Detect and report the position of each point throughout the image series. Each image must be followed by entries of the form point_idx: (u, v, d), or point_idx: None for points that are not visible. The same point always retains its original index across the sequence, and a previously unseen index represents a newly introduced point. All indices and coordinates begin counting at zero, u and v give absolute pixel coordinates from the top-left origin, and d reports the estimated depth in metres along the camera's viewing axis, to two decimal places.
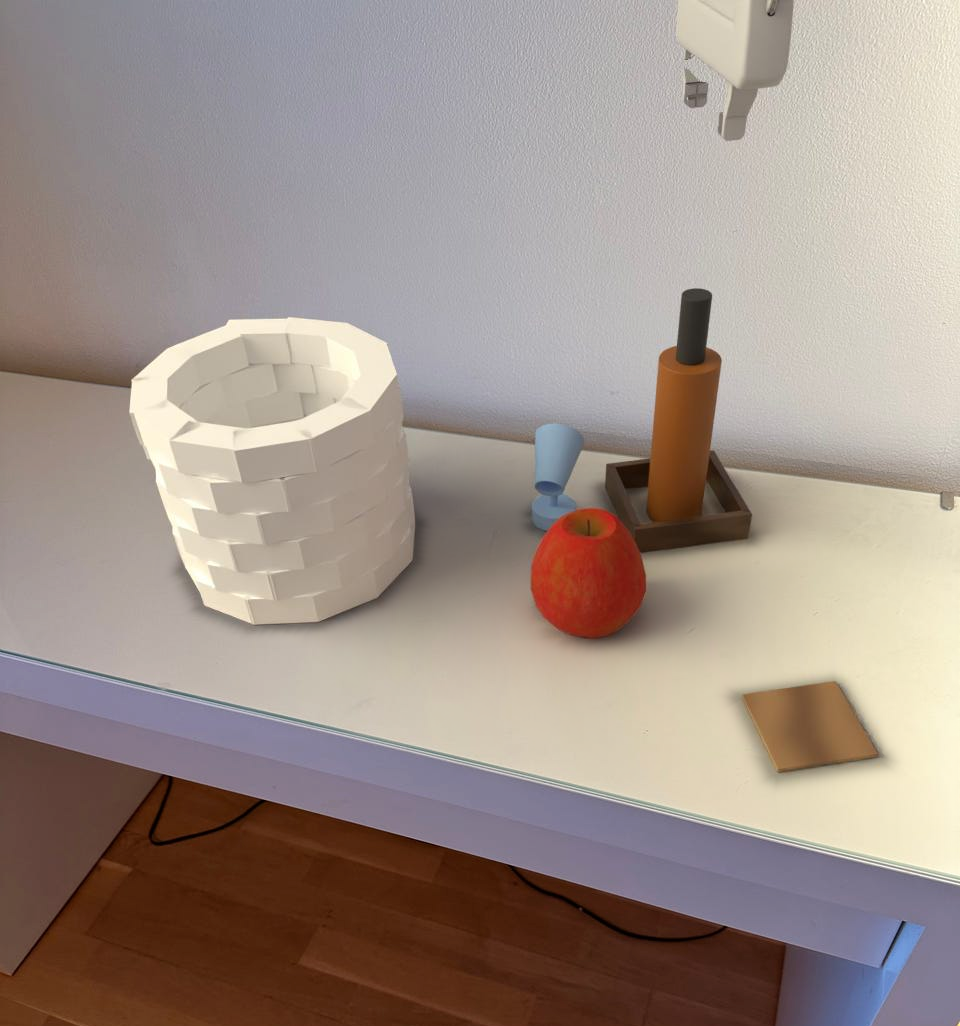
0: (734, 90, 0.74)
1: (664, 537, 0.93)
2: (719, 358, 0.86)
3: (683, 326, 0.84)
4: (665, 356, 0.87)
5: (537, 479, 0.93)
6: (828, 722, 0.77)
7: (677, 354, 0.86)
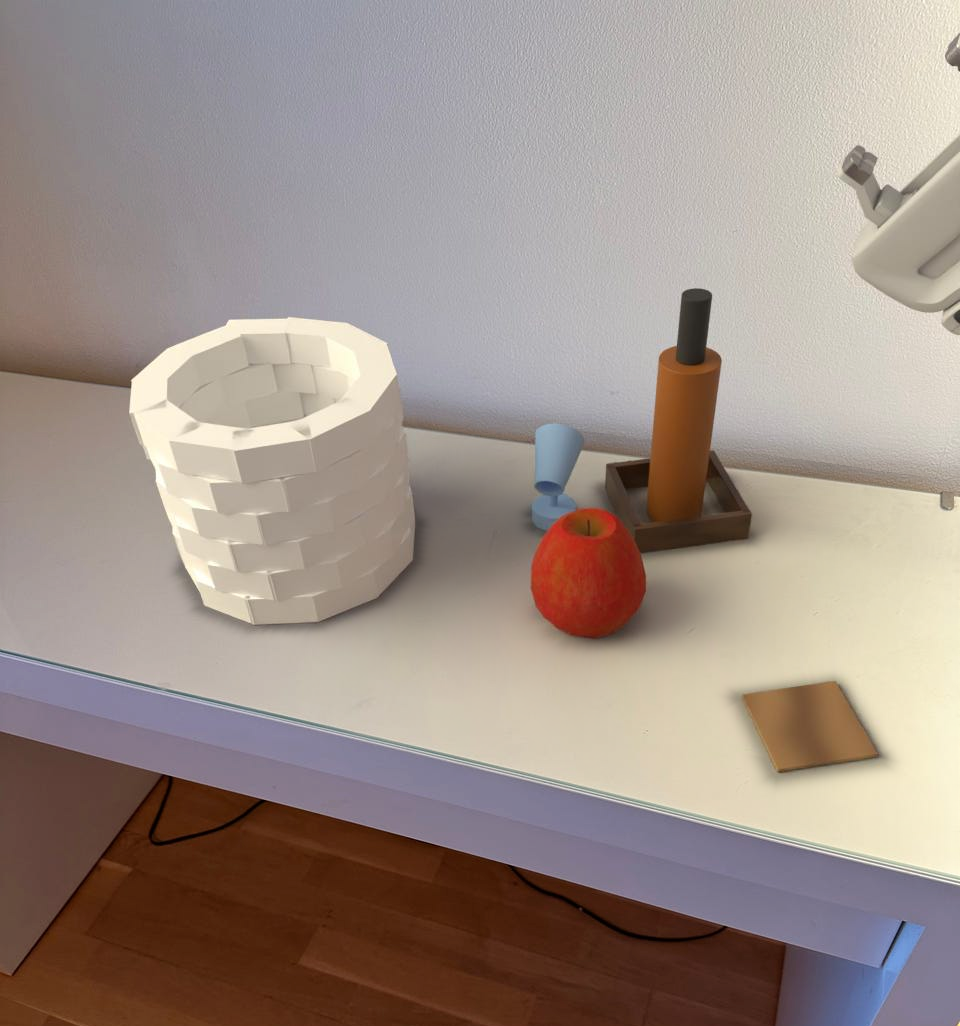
0: None
1: (664, 537, 0.93)
2: (719, 358, 0.86)
3: (683, 326, 0.84)
4: (665, 356, 0.87)
5: (537, 479, 0.93)
6: (828, 722, 0.77)
7: (677, 354, 0.86)
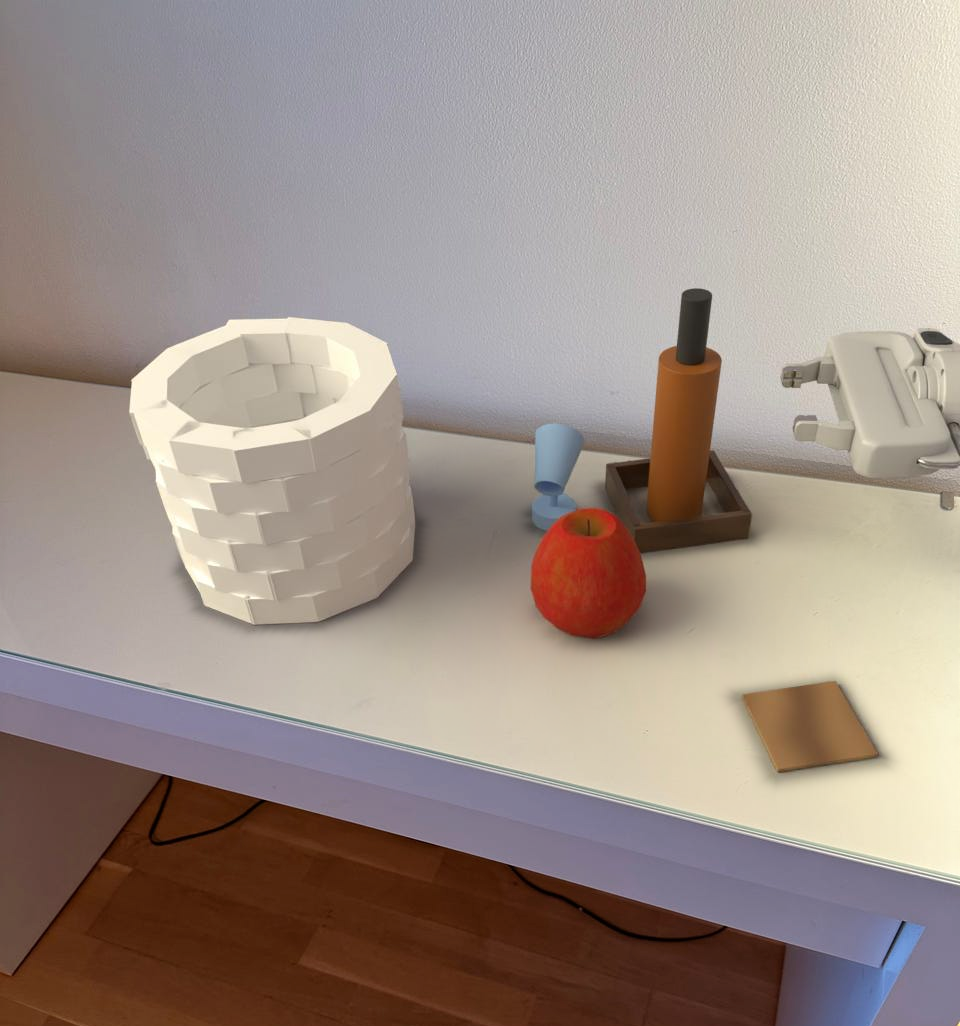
0: (846, 431, 0.82)
1: (664, 537, 0.93)
2: (719, 358, 0.86)
3: (683, 326, 0.84)
4: (665, 356, 0.87)
5: (537, 479, 0.93)
6: (828, 722, 0.77)
7: (677, 354, 0.86)
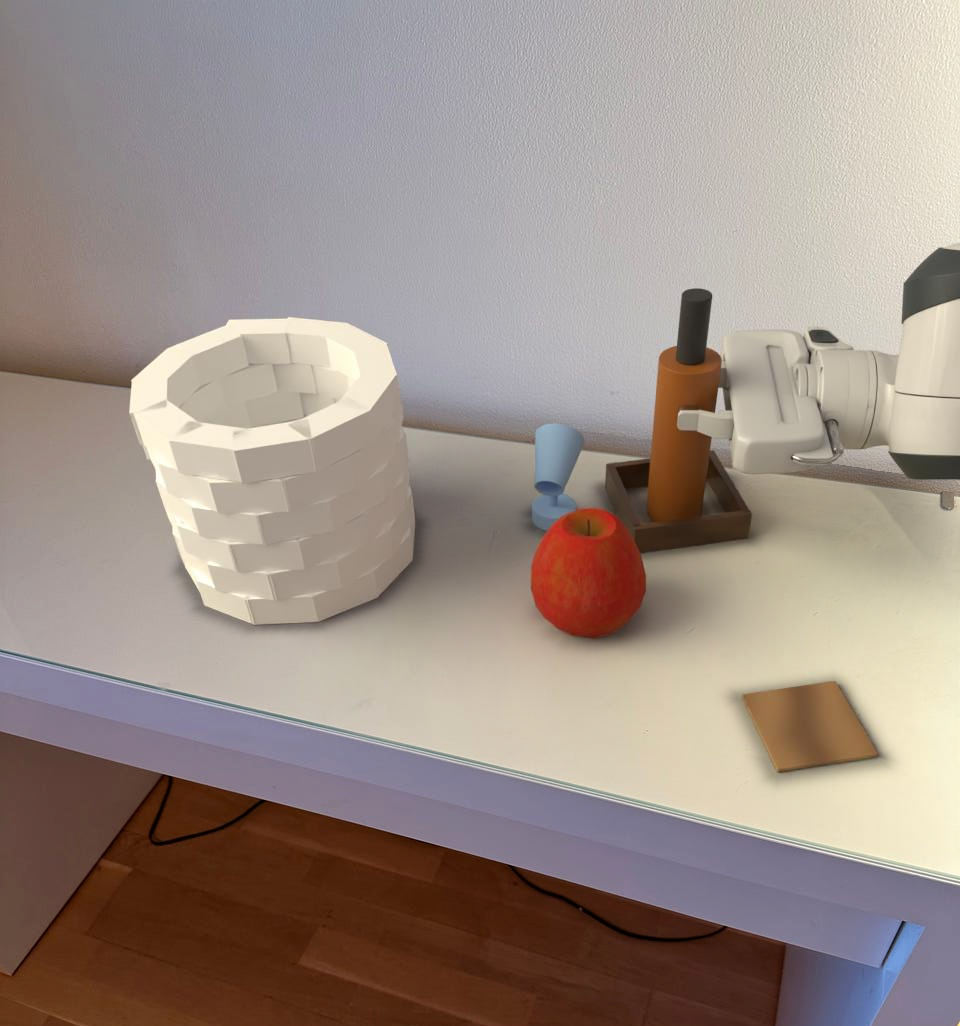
0: (724, 420, 0.85)
1: (664, 537, 0.93)
2: (719, 358, 0.86)
3: (683, 326, 0.84)
4: (665, 356, 0.87)
5: (537, 479, 0.93)
6: (828, 722, 0.77)
7: (677, 354, 0.86)
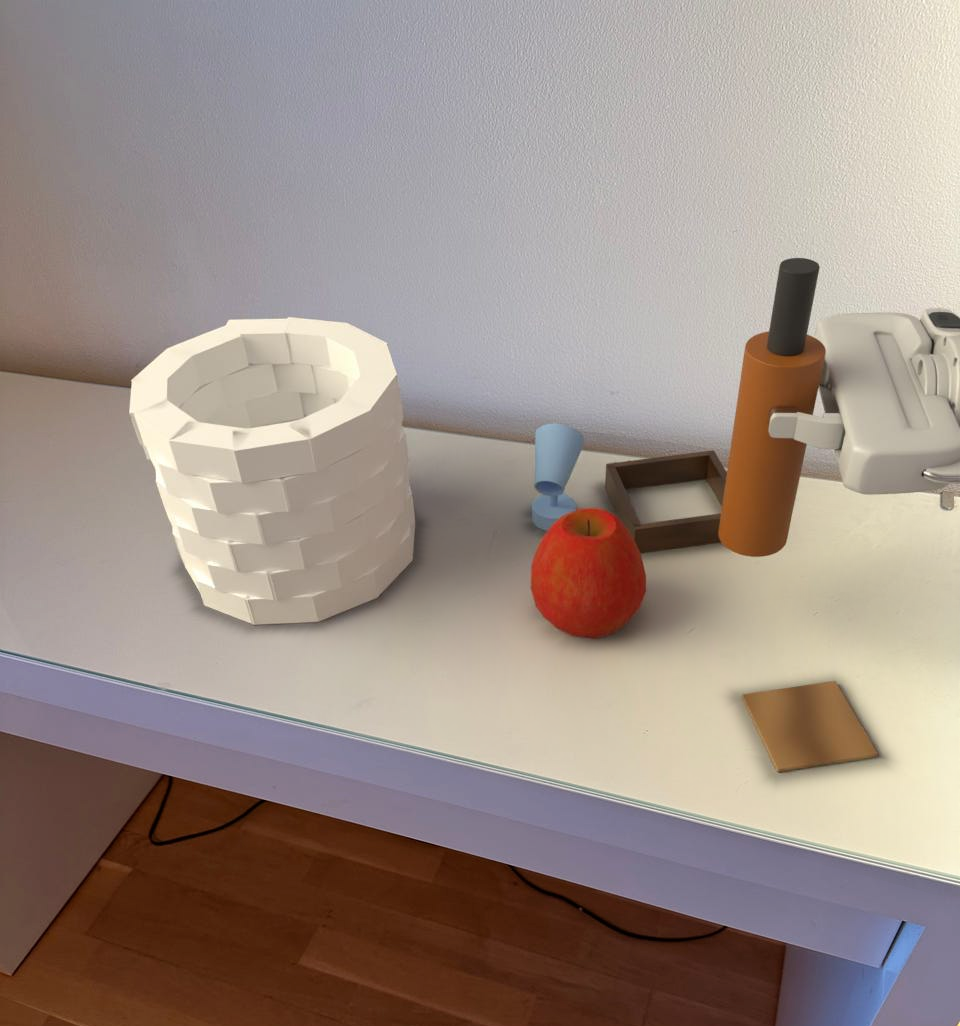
0: (831, 426, 0.67)
1: (664, 537, 0.93)
2: (822, 347, 0.69)
3: (780, 306, 0.66)
4: (753, 345, 0.70)
5: (537, 479, 0.93)
6: (828, 722, 0.77)
7: (770, 342, 0.68)
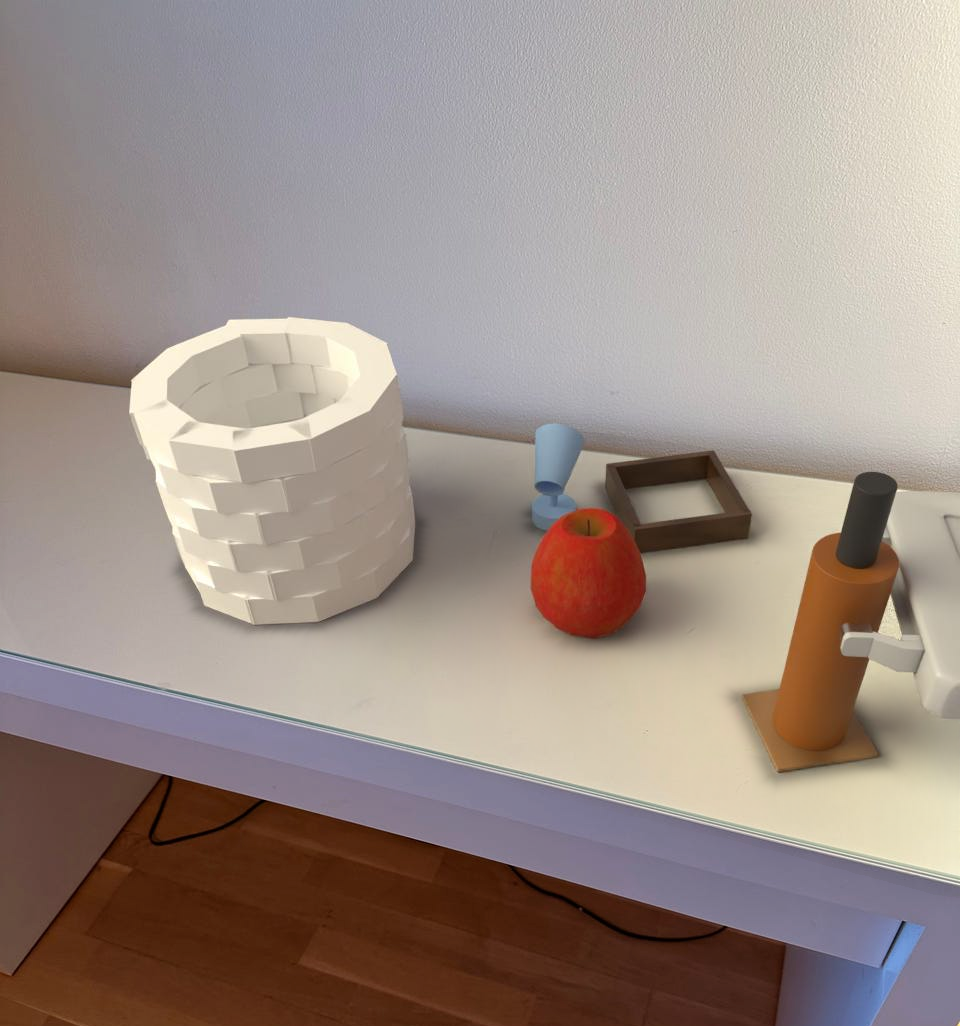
0: (911, 651, 0.62)
1: (664, 537, 0.93)
2: (894, 557, 0.65)
3: (854, 522, 0.62)
4: (821, 552, 0.65)
5: (537, 479, 0.93)
6: None
7: (840, 553, 0.64)
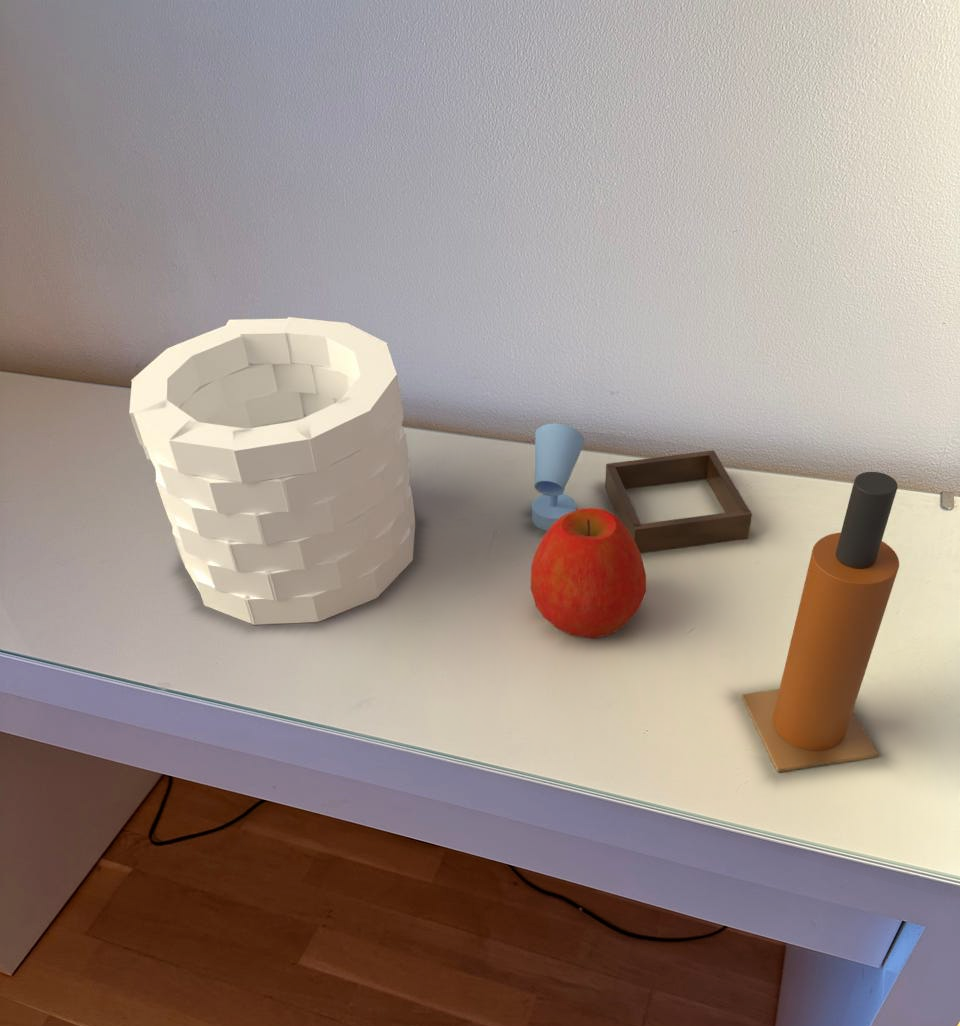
0: None
1: (664, 537, 0.93)
2: (894, 557, 0.65)
3: (854, 522, 0.62)
4: (821, 552, 0.65)
5: (537, 479, 0.93)
6: None
7: (840, 553, 0.64)
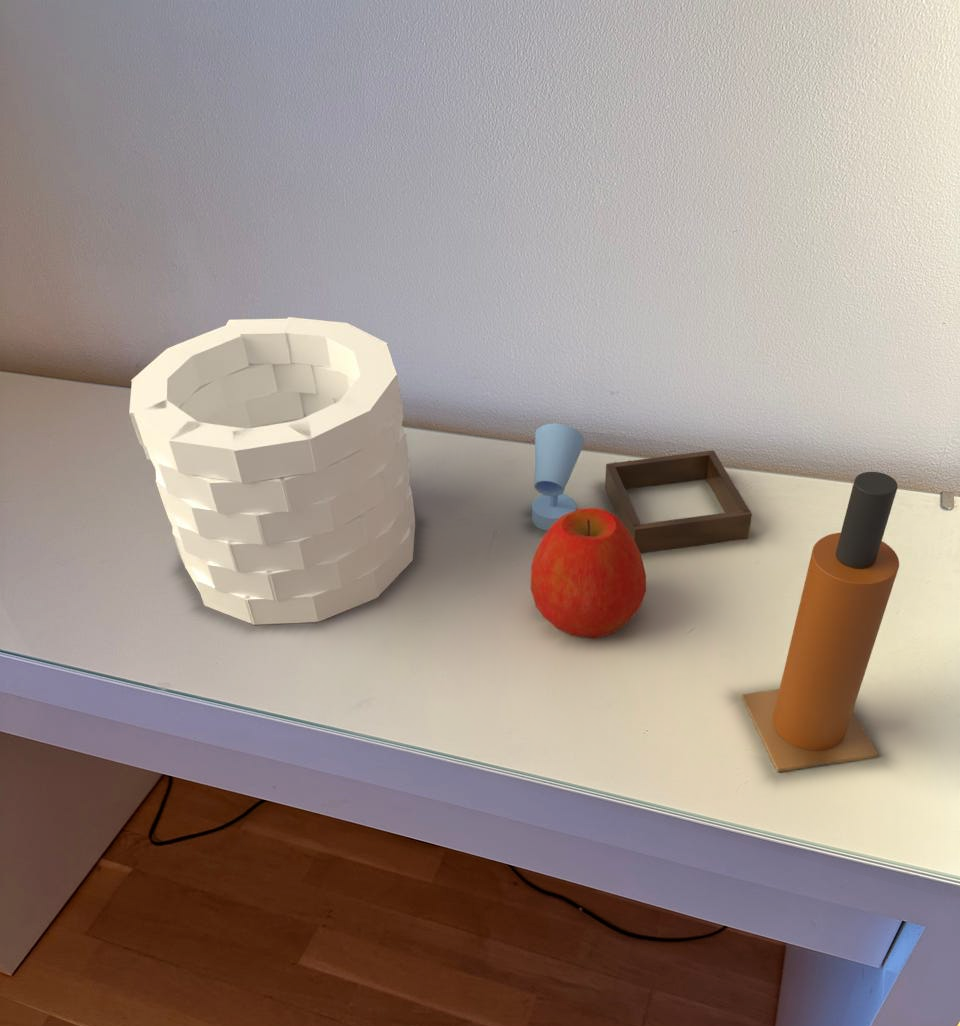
0: None
1: (664, 537, 0.93)
2: (894, 557, 0.65)
3: (854, 522, 0.62)
4: (821, 552, 0.65)
5: (537, 479, 0.93)
6: None
7: (840, 553, 0.64)
